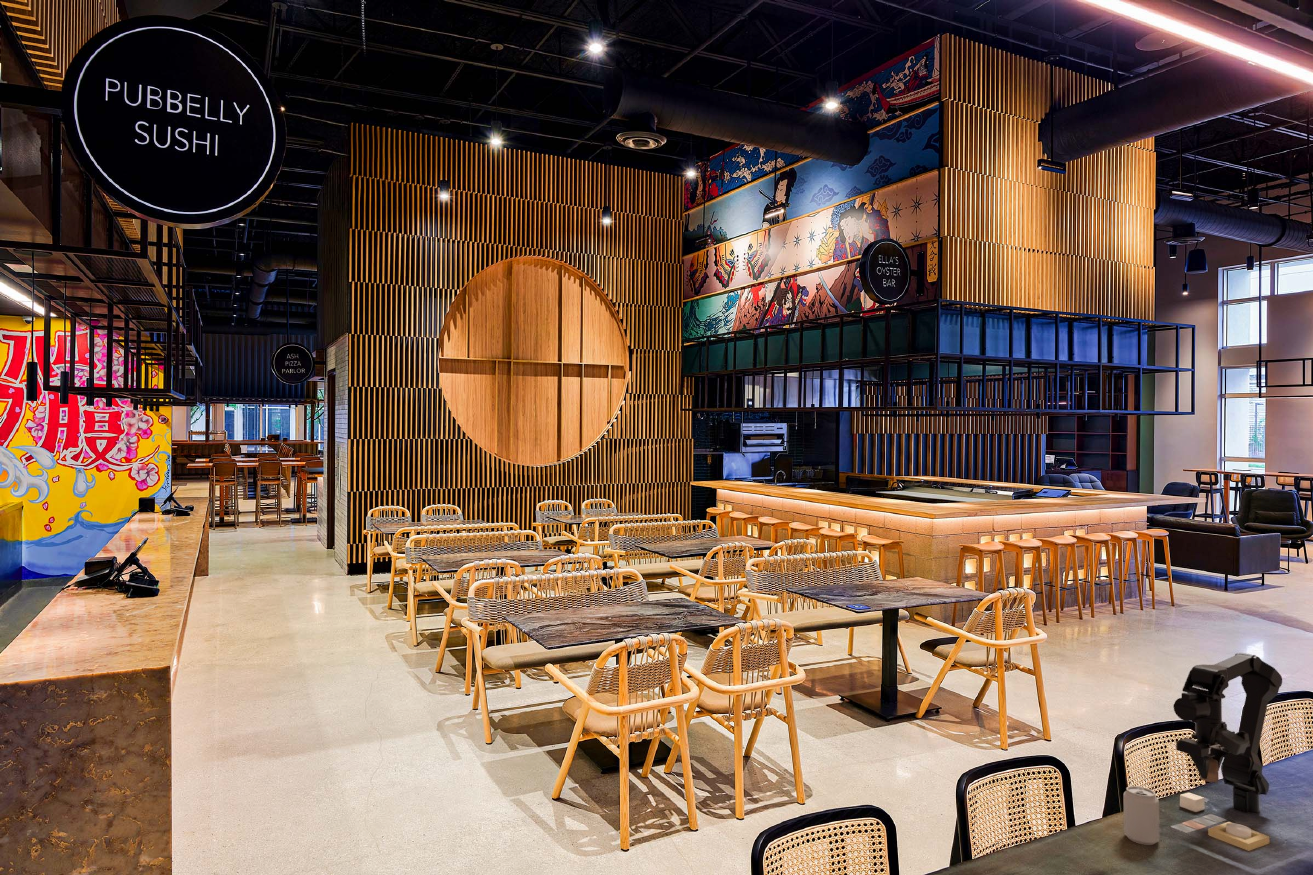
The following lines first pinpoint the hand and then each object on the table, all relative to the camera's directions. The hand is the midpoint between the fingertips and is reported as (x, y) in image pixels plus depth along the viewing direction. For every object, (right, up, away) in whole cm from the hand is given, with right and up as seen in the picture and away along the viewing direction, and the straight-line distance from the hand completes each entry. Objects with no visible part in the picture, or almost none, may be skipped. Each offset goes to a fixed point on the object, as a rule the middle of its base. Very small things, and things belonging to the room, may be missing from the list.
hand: (1209, 777), depth 208 cm
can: (-24, -11, -10) cm, 28 cm away
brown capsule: (0, -1, 0) cm, 1 cm away
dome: (-1, -11, -11) cm, 15 cm away
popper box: (-1, -11, -11) cm, 16 cm away
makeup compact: (-4, -12, -3) cm, 13 cm away
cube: (0, -12, +7) cm, 14 cm away
